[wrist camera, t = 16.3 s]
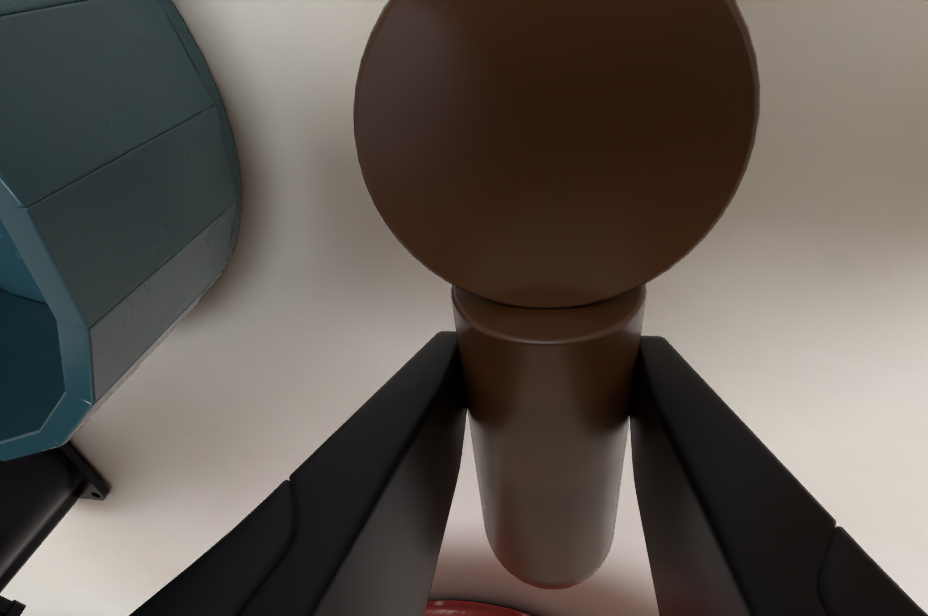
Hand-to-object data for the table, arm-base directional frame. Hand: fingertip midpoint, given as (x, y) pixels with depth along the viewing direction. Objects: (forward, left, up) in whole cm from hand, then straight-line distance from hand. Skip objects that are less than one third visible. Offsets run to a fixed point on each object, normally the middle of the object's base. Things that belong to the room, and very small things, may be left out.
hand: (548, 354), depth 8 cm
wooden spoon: (+1, 0, -1) cm, 1 cm away
